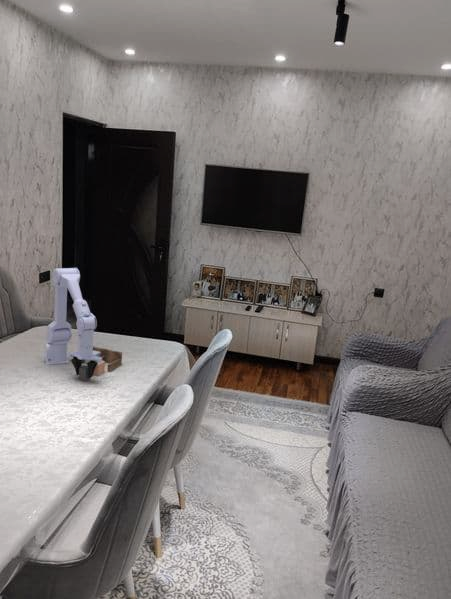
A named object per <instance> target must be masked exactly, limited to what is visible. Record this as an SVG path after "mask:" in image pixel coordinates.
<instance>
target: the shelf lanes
mask: <svg viewBox="0 0 451 599" xmlns="http://www.w3.org/2000/svg"><path fill="white" fill-rule="evenodd" d="M93 350H94V351H99V352H101V358H102V361H105V363H108V364H107V372H109V373H110V372H112V371H114V370H115V369H117V368H119V367H121V366H122V363H123V362H122V361H123V351H118V350H114V349H113V350H112V349H108V348H104V347H98V346H94V345H93ZM82 364H85V360H84V359H83V360H82Z"/></svg>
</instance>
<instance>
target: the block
mask: <svg viewBox="0 0 451 599" xmlns="http://www.w3.org/2000/svg"><path fill="white" fill-rule="evenodd" d="M93 354H94V355H96V356H98V357H101V352H99V351H94V350H93ZM88 362H90V361H89V360H85V362H84V364H86V365H87V363H88Z"/></svg>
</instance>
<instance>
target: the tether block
mask: <svg viewBox="0 0 451 599" xmlns="http://www.w3.org/2000/svg"><path fill="white" fill-rule="evenodd" d="M105 365H106V362H105V361H102V362H101V363H98V364H97V366H96V368H95V370H94V373H93V376H98V377H99V376H101V375H102V374H103V373H105V367H106V366H105ZM90 379H91V378H88V366H87V365H85V364H84V365H83V364H82V365H81V367H80V368H79V375H78V381H80V382H87V381H90Z"/></svg>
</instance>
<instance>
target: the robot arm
mask: <svg viewBox="0 0 451 599" xmlns="http://www.w3.org/2000/svg"><path fill="white" fill-rule="evenodd" d="M51 274H52V276H51V283H52V286H54V314H53V315H54V319H53V321H52V322H50V323H49V324H48V325H47V328H46V329H47V330H46V333H45V337H46V340H47V342H45V343H44V344H45V345H44V360H45V363H46V365H49V366H50V365H58V364H59V365H60V364H69V363H70V361H71V364H72V365H73V368H74V370H75V374H76V376H78V377H79V368H80V367H81V366H83V363H82V360H83V359H84V360H89V361H90V362H88V363H87V364H86V366H88V378H90V379H91V378H93V376H94V375H93V373H94V370H95V368H96V366H97V364H98V363H101V362H102V358H101V357H98V356H96V355H94V354H93V346H94V334H95V332H94V331H95V330H96V329H97V326H98V324H97V323H98V321H97V318H96V316H95V315H94V314H93V313H92V312H91V311H90V307H89V304H88V302H87V301H86V300H85V299H84V298H83V294H82V291H81V288H80V280H81V273H80V270H79V269H78V267H69V268H68V267H66V268H65V267H63V268H56V267H55V268H54V270H53V271H52V273H51ZM68 292H69V294H70V297H71V298H72V301H73V304H72V308H73V312H74V314H75V317H76V323H75V324H76V329H77V331H76V332H77V334H78V345H77V348H78V349H77V351H75V350H70V351H68V344H69V343H70V341H71V339H72V338H73V331H72V325H71V324H70V323H69V322H68V321H67V307H68V306H67V305H68V304H67V302H68ZM68 357H69V358H72V359H71V360H70V361H69V359H68Z"/></svg>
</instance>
